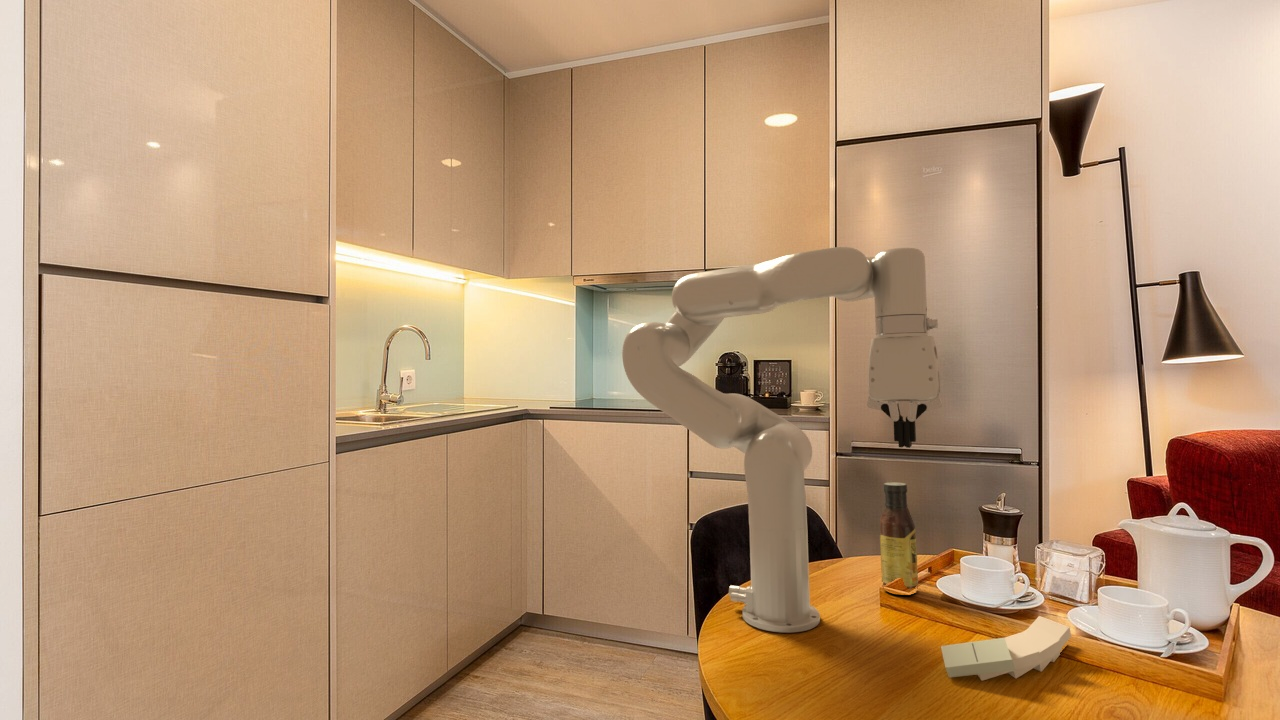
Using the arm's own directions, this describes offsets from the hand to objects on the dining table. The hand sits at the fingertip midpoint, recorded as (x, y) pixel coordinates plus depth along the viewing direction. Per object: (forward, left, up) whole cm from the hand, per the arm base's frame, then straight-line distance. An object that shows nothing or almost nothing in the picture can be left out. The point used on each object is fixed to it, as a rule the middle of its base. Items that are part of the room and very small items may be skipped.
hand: (905, 446), depth 98 cm
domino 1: (+8, -10, -28) cm, 31 cm away
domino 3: (+15, -4, -28) cm, 32 cm away
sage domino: (+5, -11, -28) cm, 30 cm away
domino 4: (+16, -1, -28) cm, 33 cm away
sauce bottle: (-4, +20, -29) cm, 36 cm away
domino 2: (+12, -8, -28) cm, 31 cm away
